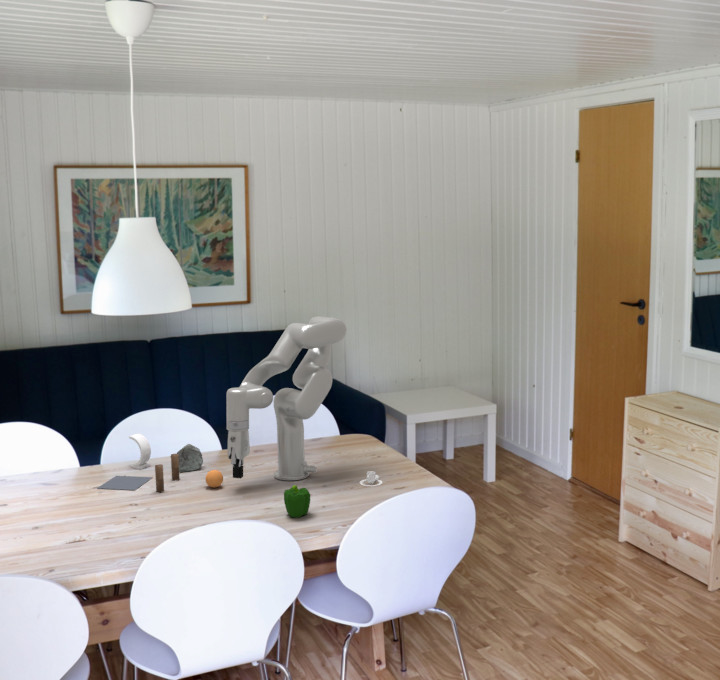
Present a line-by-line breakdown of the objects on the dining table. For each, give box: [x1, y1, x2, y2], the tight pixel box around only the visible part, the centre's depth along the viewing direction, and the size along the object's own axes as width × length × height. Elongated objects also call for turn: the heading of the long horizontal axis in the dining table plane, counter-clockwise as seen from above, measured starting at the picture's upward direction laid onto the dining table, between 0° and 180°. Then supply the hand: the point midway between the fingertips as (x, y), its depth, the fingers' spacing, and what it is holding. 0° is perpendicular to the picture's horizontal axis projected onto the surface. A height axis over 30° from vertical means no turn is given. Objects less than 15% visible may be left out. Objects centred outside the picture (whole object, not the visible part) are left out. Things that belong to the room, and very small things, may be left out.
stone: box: [176, 443, 204, 473], centre depth 301 cm, size 10×10×10 cm
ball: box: [205, 469, 224, 489], centre depth 279 cm, size 6×6×6 cm
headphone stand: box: [128, 433, 152, 470], centre depth 304 cm, size 5×6×12 cm
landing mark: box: [96, 475, 154, 491], centre depth 285 cm, size 14×14×1 cm
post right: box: [170, 453, 180, 481], centre depth 288 cm, size 3×3×9 cm
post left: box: [154, 464, 165, 493], centre depth 276 cm, size 3×3×9 cm
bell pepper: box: [283, 484, 311, 518], centre depth 251 cm, size 8×8×10 cm
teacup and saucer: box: [359, 470, 383, 487], centre depth 282 cm, size 9×8×4 cm
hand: (238, 477), depth 276 cm, fingers closed
